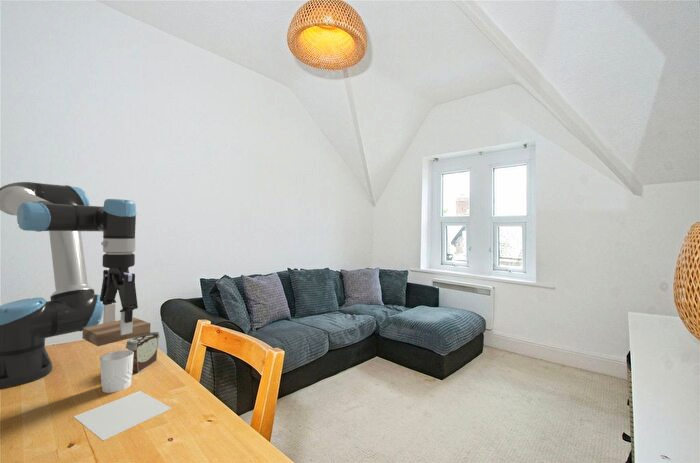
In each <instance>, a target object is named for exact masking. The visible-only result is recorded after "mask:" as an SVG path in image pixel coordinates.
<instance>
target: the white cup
mask: <svg viewBox="0 0 700 463" xmlns="http://www.w3.org/2000/svg"><path fill="white" fill-rule="evenodd" d="M133 357H134V352H133V351H131V350H128V349H122V350H121V349H120V350H115V351H111V352H107V353H104V354H103V355H102V356H101V357H100V358H99V359H100V360H99V361H100V365H99V366H100V382H101V386H102V387H101V391H102V392H104V393H106V394H107V393H109V394H110V393H117V392H120V391H124V390H126V389H127V388H129V387H130V386H132V377H133V372H132V371H133Z"/></svg>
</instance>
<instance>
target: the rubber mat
mask: <svg viewBox="0 0 700 463" xmlns="http://www.w3.org/2000/svg"><path fill="white" fill-rule="evenodd" d="M171 409H173V408H172V407H170V406H168V405H167V404H165V403H163V402H161V401H160V400H158V399H157V398H154V397H153V396H150V395H149V394H147V393H145V392H143V391H141V390H139V391H136V392H133V393H131V394H129V395H126V396H123V397H121V398H120V397H119V398H118V399H115V400H113V401H110V402H107V403H105V404H103V405H100V406H97V407H95V408H93V409H90V410H89V409H88V410H87V411H85V412H82V413H79V414H77V415H74V416H73V418H74V419H75V420H77V421H78V422H79V423H80V424H82V425H83V426H84V427H85V428H87V429H88V430H89V431H90V432H92V433H93V435H95V436H96V437H98V439H100V440H101V441H106V440H109V438H112V437H114V436H116V435H118V434H120V433H123V432H125V431H127V430H129V429H131V428H133V427H135V426H138V425H140V424H141V423H143V422H146V421H148V420H151V419H152V418H154V417H156V416H159V415H161V414H164V413H165V412H168V411H170V410H171Z"/></svg>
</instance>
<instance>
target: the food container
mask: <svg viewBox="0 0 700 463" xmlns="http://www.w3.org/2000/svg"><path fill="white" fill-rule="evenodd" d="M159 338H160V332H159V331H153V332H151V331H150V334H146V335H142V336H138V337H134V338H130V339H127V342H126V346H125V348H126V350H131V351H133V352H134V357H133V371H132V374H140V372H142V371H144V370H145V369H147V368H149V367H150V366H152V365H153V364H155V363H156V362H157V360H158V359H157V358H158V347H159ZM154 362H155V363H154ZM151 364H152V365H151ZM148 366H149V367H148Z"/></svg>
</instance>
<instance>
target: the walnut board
mask: <svg viewBox="0 0 700 463" xmlns="http://www.w3.org/2000/svg"><path fill="white" fill-rule="evenodd" d="M120 325H121V319H119V320H115V321H114V322H109V323H104V324H103V323H101V324H98V325H94V326H89V327H84V328H83V331H82V339H83V340H85V341H87V342H88V343H89V344H92V345H95V346H97V347H101V346H106V345H108V344H110V345H111V344H114V343H118V342H122V341H126V340H128V339H130V338H134V337H138V336H142V335H146V334H150V333H151V323H150V322H148V321H146V320H142V319H139V318H137V317H133V328H132V333H129V334H125V335H120Z"/></svg>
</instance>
